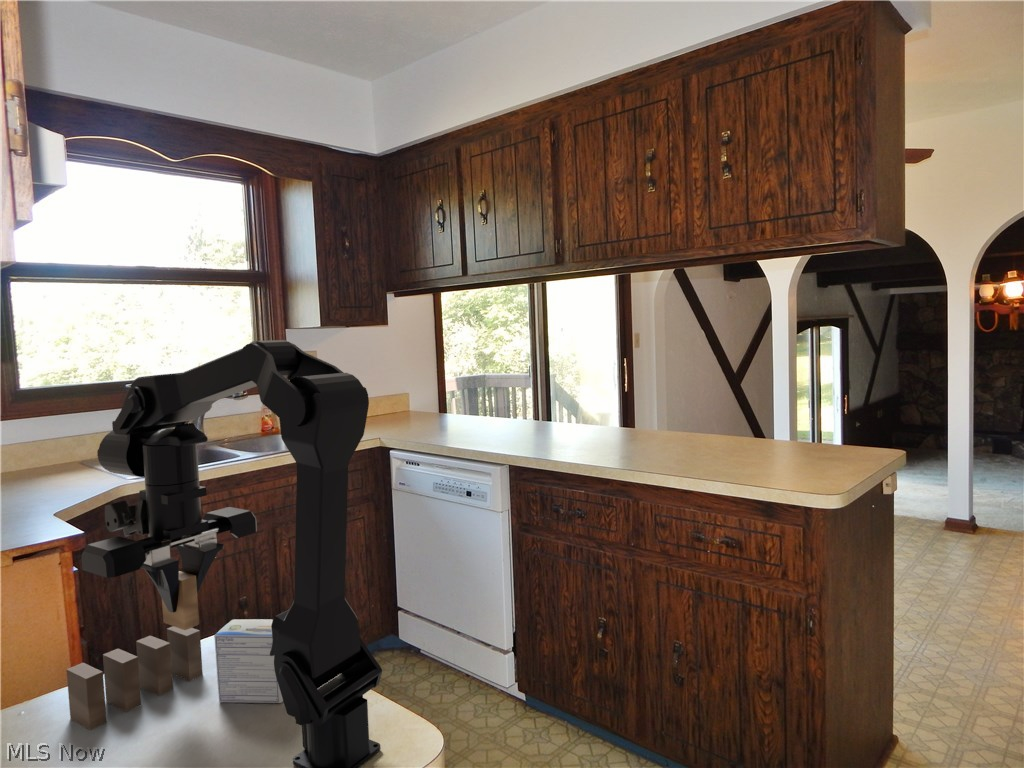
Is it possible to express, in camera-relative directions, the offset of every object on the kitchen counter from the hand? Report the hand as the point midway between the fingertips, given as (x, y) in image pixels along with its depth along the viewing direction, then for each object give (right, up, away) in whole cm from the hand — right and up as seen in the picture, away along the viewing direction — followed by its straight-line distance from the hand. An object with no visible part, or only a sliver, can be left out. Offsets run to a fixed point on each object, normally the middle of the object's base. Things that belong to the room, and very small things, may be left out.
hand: (180, 608), depth 80 cm
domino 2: (-7, -12, 0) cm, 14 cm away
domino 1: (-9, -12, -3) cm, 15 cm away
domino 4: (0, -2, 0) cm, 2 cm away
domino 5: (-3, -11, +7) cm, 13 cm away
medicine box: (+9, -11, +1) cm, 14 cm away
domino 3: (-5, -11, +4) cm, 13 cm away
